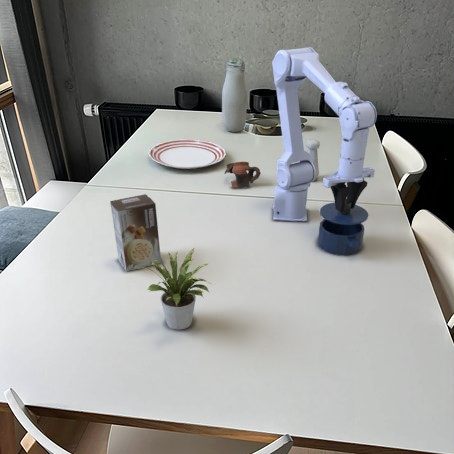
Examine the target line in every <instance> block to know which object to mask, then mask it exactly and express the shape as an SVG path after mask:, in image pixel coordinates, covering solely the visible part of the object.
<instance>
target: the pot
mask: <svg viewBox="0 0 454 454" xmlns="http://www.w3.org/2000/svg"><path fill="white" fill-rule="evenodd" d="M364 235H365V226H364V224H363V223H360V224H355V225H342V224H337V223H333V222H330V221H328V220H326V219H324V218H323V219H322V220H321V221H320V222H319V228H318V235H317V245H318V247H319V249H321V250H322V251H324V252H326V253H328V254H331V255H337V256H350V255H354V254H357V253H359V252H360V251H361V249H362V247H363V242H364V241H363V240H364Z"/></svg>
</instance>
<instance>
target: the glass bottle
mask: <svg viewBox="0 0 454 454" xmlns="http://www.w3.org/2000/svg"><path fill="white" fill-rule="evenodd" d="M225 70H226V75H225V79H224V83H223V85H222V91H221V121H222V126H223V128H224V129H225V130H226V131H228V132H231V133H237V132H241V131H243V130H244V128H245V126H246V122H247V107H248V87H247V80H246V77H245V76H246V75H245V74H246V73H245V70H246V63H245V61H244V60H243V59H241V58H239V57H233V58H229V59H228V60H227V61H226V66H225Z"/></svg>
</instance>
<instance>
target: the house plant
mask: <svg viewBox="0 0 454 454" xmlns="http://www.w3.org/2000/svg"><path fill="white" fill-rule="evenodd" d="M195 249H196V247H194V248H192V249H191V250H189V251H188V253H187V254H186V256H185V257H184V260H183V262H182V264H181V265H180V268H179V272H178V251H179V250H177V251H176V253H175V255H174V257H173V256H172V254H171V253H170V252H169V251H167V254H168V257H169V264H170V268H171V272H170V271H169V270H168V268H167V267H166V265H165V264H164V263H163V262H162V261H161V262H160V261H158V260H156V261H158V262H160V263H159V264H161V265H162V267H163V268H162V267H161V266H160V265H159V264H156V263H155V262H152V261H151V262H152V263H151V262H150V263H151V264H152V265H151V266H153V267H154V268H155V270H156V271H158V273H160V275H161V276H162V277H163V278H162V277H161V276H160V275H159V274H158V273H156V275H157V276H158V277H159V278H160V279H161V280H162V281H159V282H157V283H152V284H150V285H149V286H148V288H147V289H146V290H147V291H148V293H150V292H157V291H159V292H160V291H162V292H163V293H162V294H161V296H160V302H161V303H160V304H161V306H162V310H163V313H164V317H165V321H166V324H167V326H168V327H169V328H170V329H172V330H175V331H176V330H180V331H181V330H186V329H187V328H189V327H190V326H191V325H192V323H193V317H194V313H195V312H194V310H195V305H196V297H197V296H200V297H201V298H203V299H204V298H205V297H204V295H203V293H204V291H206V292H208V293H209V294H210V291H209V288H208V287H207V286H206V285H205V284H201V283H200V284H198V283H197V282H206V283H208V284H211V285H212V283H211V282H209V281H207V279H205V278H199V277H196V276H194V275H195V274H196V273H197V272H199V271H200V269H202V268H203V267H206V266H208V265H209V263H203V264H200V265H198V266H197V267H196V268H194V269H193V270H192V271H189V272H188V269H189V267H190V265H191V263H192V262H193V260H194V258H192V257H193V255H194V252H195ZM153 260H154V259H153ZM137 268H138V269H145V270H148V271H151V272H153V273H155V270H153V269H151V268H149V267H137ZM170 273H171V274H170ZM160 283H161V284H163V285H164V287H162V285H159V284H160ZM195 283H197V284H195ZM194 288H195V289H194Z"/></svg>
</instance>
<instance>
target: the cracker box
mask: <svg viewBox="0 0 454 454" xmlns="http://www.w3.org/2000/svg"><path fill="white" fill-rule="evenodd" d="M110 210H111V217H112V222H113V229H114V230H113V231H114V237H115V245H116V250H117V251H116V252H117V260H118V262H119V263H120V265H121V266H122V267H123V268H124V270H125V271H126V272H130V271H134V270H138V269H139V268H137V267H145V268H147V267H149V266H153V265H152V264H151V263H152V262H155V263H156V264H157V265H159V264H161V263H160V262H162V256H161V248H160V237H159V227H158V226H159V225H158V215H157V206H156V202H155V201H154V200H153V199H152V198H151V197H150V196H148V194H147V193H145V194H141V195H134V196H129V197H124V198H119V199H114V200H110ZM153 259H154V260H153ZM156 260H158V261H160V262H158V261H156ZM151 261H152V262H151ZM150 262H151V263H150Z"/></svg>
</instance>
